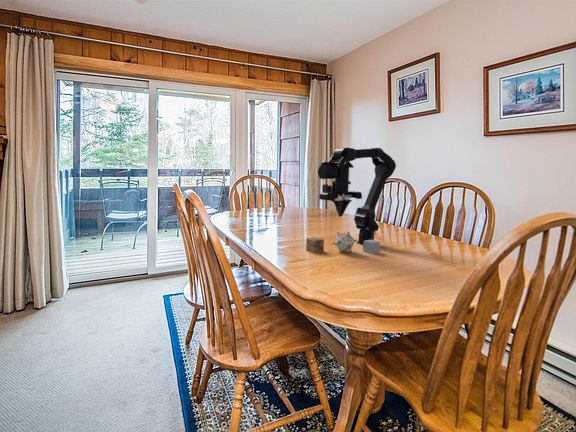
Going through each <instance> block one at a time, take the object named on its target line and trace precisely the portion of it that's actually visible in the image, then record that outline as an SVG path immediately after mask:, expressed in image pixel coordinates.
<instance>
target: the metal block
mask: <svg viewBox="0 0 576 432" xmlns="http://www.w3.org/2000/svg"><path fill="white" fill-rule="evenodd" d="M305 243H306V245H305V250H306V251H307V252H310V253H313V254H315V253H322V252H324V250H325V248H324V247H325V246H324V245H325V239H324V238H322V237H321V238H320V237H317V236H313V237H306V241H305Z"/></svg>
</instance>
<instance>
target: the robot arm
mask: <svg viewBox="0 0 576 432" xmlns="http://www.w3.org/2000/svg"><path fill="white" fill-rule="evenodd" d="M365 158H371V161H372V164H373V165H374V175H375V176H374V179H373V182H372V184H371V187H370V189H369V192H368V194H367V197H366V200H365V202H364V204H363V206H362V207H357V209H356V211H355V214H353V216H354V219H353V220H354V223H355V227H356V229H359V233H358V240H357V241H355V242H356V244H357V243H358V244H360V245H363V241H366V240H375V232H377V231H379V224H378V223H377V221H376V220H375V219H376V207H377V204H378V202H379V199H380V198H381V194H382V192H383V189H384V188H385V187H384V186H385V184H386V183H387V180H388V179H389V178H390V177H391V176H392V175H393V173H394V172H395V170H396V168H397V164H396V162H395V160H394V159H393V158H392V157H391V156H390V154H388V153H386V152H385V151H384V149H382V147H381V148H380V147H371V148H363V149H362V148H361V149H359V148H358V149H355V148H353V147H352V148H351V147H338V148H335V149H334V151H333V153H332V155H331V157H330V159H329V160H328V161H321V162H320V163H321V164H320V166H319V167H318V169H317V175H318V178H319V179H321V180H332V183H331V185H328V184H327V183H326V184H322V190H321V192H320V194H319V199H318V200H322V201H331V202H332V203H333V204H334V206H335V208H336V212H337V215H338V217H343V215H344V213H345V212H346V209H347V208H348V206H349V204H351V202H353V200H352V198H354V199H355V200H362V198H363V194H362V192H361V191H354V190H353V191H349V186H350V185H351V183H352V182H351V181H350V168H352V169H353V168H354V167H355V166H354V165H353V164H352V163H351V162H352V161H355V160H358V159H365ZM333 179H334V180H333Z"/></svg>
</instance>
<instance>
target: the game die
mask: <svg viewBox="0 0 576 432" xmlns="http://www.w3.org/2000/svg"><path fill="white" fill-rule="evenodd" d="M336 234H337V235H336V238H335V240H334V242H332V245H335V246H336V248H337V249H338V250H339V253H340V254H341V253H342V252H348V251H349V252H351V253H353V251H352V249H353V247H354V244H355V242H356V241H358V240H357V239H354V238H353V236H352V235H351V234H350V231H347V232H344V233H343V232H342V233H341V232H340V233H339V232H338V231H337V232H336Z"/></svg>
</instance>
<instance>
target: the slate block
mask: <svg viewBox="0 0 576 432" xmlns="http://www.w3.org/2000/svg"><path fill="white" fill-rule="evenodd" d="M380 247H381V241H379V240H375V239H374V240H366V241H363V244H362V248H363V249H362V252H363V253H368V254H369V255H373V254H378V253H380Z"/></svg>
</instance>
